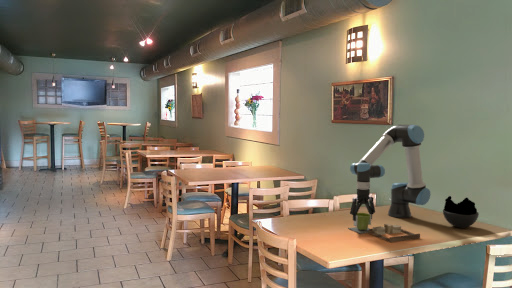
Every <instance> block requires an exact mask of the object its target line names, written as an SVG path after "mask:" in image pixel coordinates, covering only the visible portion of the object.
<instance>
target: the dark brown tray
mask: <svg viewBox="0 0 512 288" xmlns="http://www.w3.org/2000/svg"><path fill="white" fill-rule="evenodd" d="M401 233H403V234H404V235H397V236H390V237H387V236H384V235H380V234H377V233H375V232H373V228H370V229H369V230H368V233H367V234H369V235H372V236H374V237H376V238H379V239H381V240H384V241H385V242H388V241H389V243H396V242H403V241H411V240H418V239H421V234H420V233H413V232H410V231H408V230H405V229H402V228H401Z"/></svg>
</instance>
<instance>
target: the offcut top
mask: <svg viewBox="0 0 512 288" xmlns="http://www.w3.org/2000/svg"><path fill="white" fill-rule="evenodd" d="M393 225H394V224H390V223H384V224H383V227H384V228H385V234H387V235H391V234H393Z"/></svg>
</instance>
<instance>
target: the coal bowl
mask: <svg viewBox="0 0 512 288" xmlns="http://www.w3.org/2000/svg"><path fill="white" fill-rule="evenodd" d="M444 201H445V203H444V207H443V209H442V213H443V214H442V215H443V216H444V219H445V220H446V221H447V222H448V223H449V224H450V225H451V226H453V227H457V228H460V229H462V228H468V227H471V226H473V225H474V224H475V223H476V221H477V220H478V218H479V216H480V215H479V214H480V213H479V212H478V209H477V207H476V206H475V205H476V203H475V202H474V201H472V200H470V199H469V197H465V198H463V199H462V201H459V202H457V203H456V202H455V201H454V200H452V196H451V195H448V197H447V198H445V200H444Z"/></svg>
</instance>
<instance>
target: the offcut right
mask: <svg viewBox="0 0 512 288" xmlns="http://www.w3.org/2000/svg"><path fill="white" fill-rule="evenodd" d="M392 225H393V234H394V235H395V234H400V233H402V232H401V229H402V226H401V225H399V224H392Z"/></svg>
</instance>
